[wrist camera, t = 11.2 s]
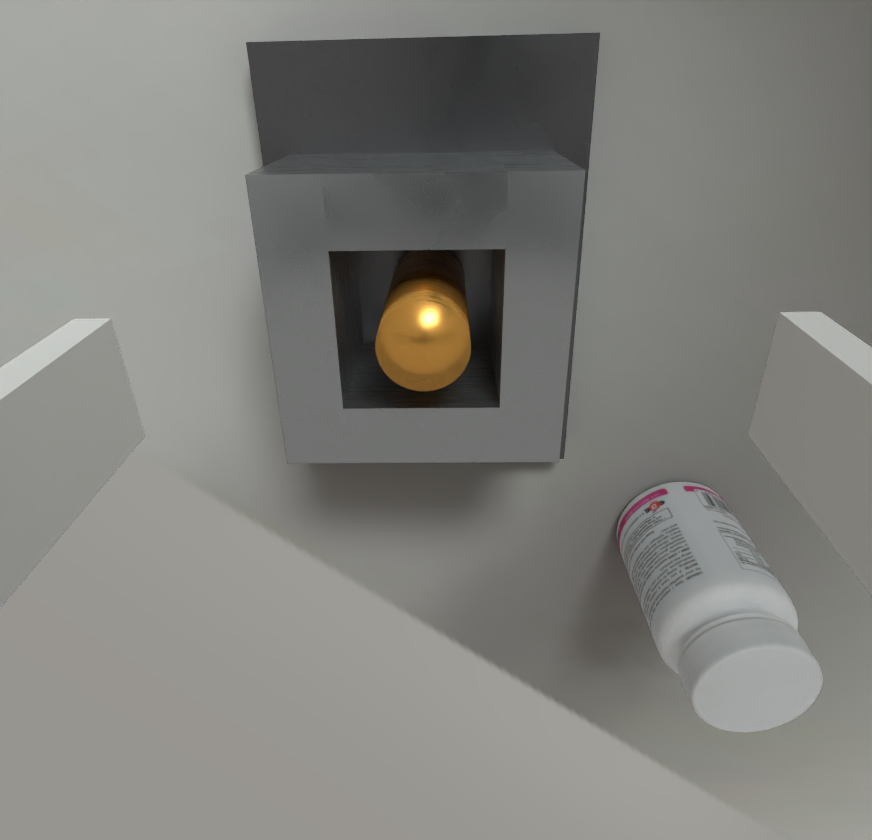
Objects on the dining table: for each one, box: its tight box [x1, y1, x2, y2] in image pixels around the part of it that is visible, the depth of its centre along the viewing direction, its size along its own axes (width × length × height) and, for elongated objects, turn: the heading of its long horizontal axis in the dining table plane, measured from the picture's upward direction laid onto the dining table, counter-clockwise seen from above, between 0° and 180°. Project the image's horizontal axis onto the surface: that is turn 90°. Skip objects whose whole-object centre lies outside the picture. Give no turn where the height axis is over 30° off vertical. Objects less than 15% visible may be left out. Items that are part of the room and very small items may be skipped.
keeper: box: [246, 33, 600, 459], centre depth 19 cm, size 14×10×7 cm
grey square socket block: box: [245, 151, 586, 463], centre depth 19 cm, size 8×8×5 cm
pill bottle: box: [616, 482, 823, 733], centre depth 23 cm, size 5×5×8 cm
